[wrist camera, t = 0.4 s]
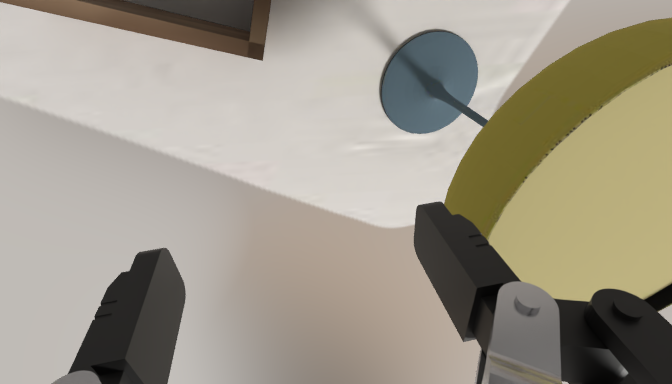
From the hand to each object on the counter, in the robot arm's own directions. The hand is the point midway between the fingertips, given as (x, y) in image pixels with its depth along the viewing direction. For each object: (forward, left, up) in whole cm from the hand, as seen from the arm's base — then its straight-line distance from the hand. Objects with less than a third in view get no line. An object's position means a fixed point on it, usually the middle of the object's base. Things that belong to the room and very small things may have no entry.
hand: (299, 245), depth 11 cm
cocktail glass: (-1, +17, -26) cm, 31 cm away
